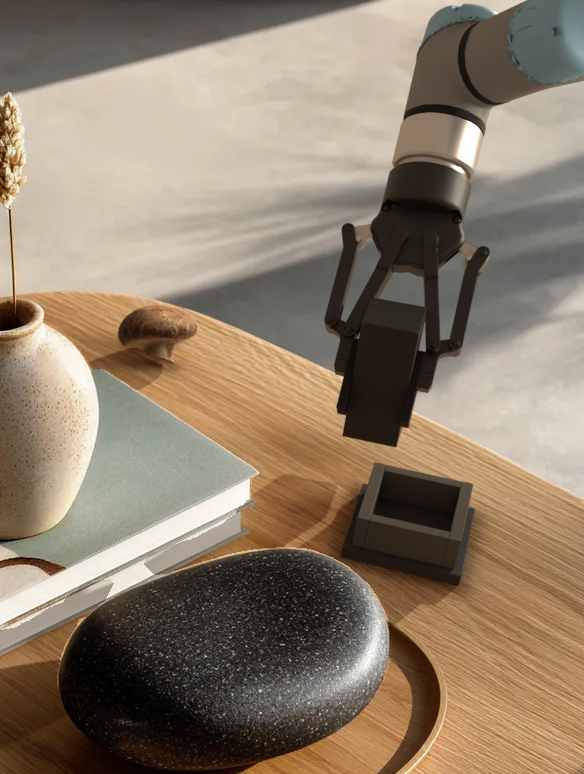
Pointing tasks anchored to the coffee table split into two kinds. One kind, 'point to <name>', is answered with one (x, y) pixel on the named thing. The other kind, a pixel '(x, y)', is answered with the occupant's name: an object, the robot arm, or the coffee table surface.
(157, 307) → the mushroom
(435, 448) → the coffee table surface
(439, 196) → the robot arm
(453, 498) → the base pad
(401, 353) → the dark rectangular block
